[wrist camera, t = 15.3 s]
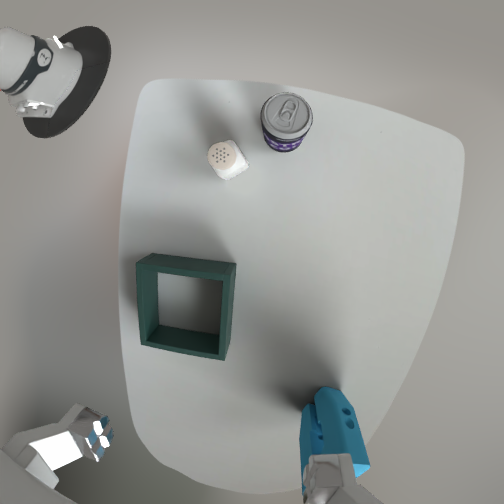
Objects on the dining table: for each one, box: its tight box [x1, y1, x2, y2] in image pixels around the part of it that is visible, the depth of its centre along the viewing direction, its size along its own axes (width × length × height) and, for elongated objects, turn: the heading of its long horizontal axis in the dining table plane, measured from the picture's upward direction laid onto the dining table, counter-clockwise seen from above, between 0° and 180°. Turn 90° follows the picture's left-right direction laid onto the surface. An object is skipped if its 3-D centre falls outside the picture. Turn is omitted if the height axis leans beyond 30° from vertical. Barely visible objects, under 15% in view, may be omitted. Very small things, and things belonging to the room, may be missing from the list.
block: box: [299, 386, 370, 495], centre depth 38 cm, size 12×5×20 cm, turn 155°
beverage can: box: [261, 92, 313, 152], centre depth 32 cm, size 6×6×12 cm
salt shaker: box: [207, 140, 249, 180], centre depth 34 cm, size 4×4×10 cm
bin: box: [136, 253, 236, 361], centre depth 41 cm, size 14×14×6 cm
